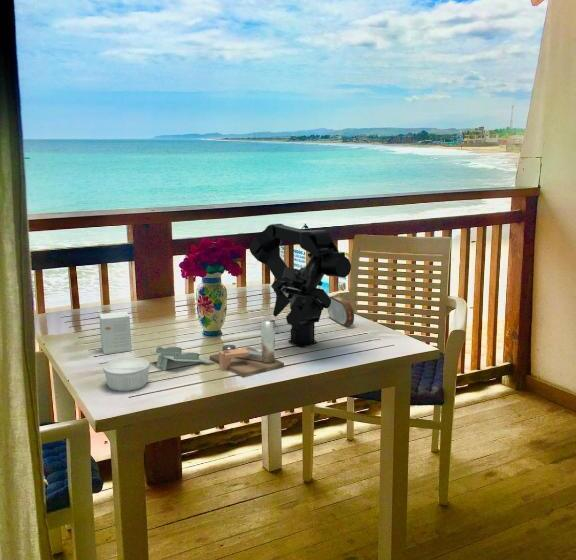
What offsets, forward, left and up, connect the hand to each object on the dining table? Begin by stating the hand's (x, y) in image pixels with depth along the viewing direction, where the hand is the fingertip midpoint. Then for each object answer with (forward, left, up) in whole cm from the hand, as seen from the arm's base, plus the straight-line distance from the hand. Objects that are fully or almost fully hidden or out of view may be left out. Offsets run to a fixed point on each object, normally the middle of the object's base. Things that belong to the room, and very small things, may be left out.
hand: (285, 318), depth 175 cm
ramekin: (+42, -8, -12) cm, 45 cm away
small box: (+34, -35, -12) cm, 51 cm away
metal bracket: (+25, -15, -12) cm, 31 cm away
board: (+10, -4, -11) cm, 16 cm away
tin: (-36, -18, -12) cm, 42 cm away
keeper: (+15, -3, -11) cm, 19 cm away
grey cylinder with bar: (+9, -4, -10) cm, 15 cm away
